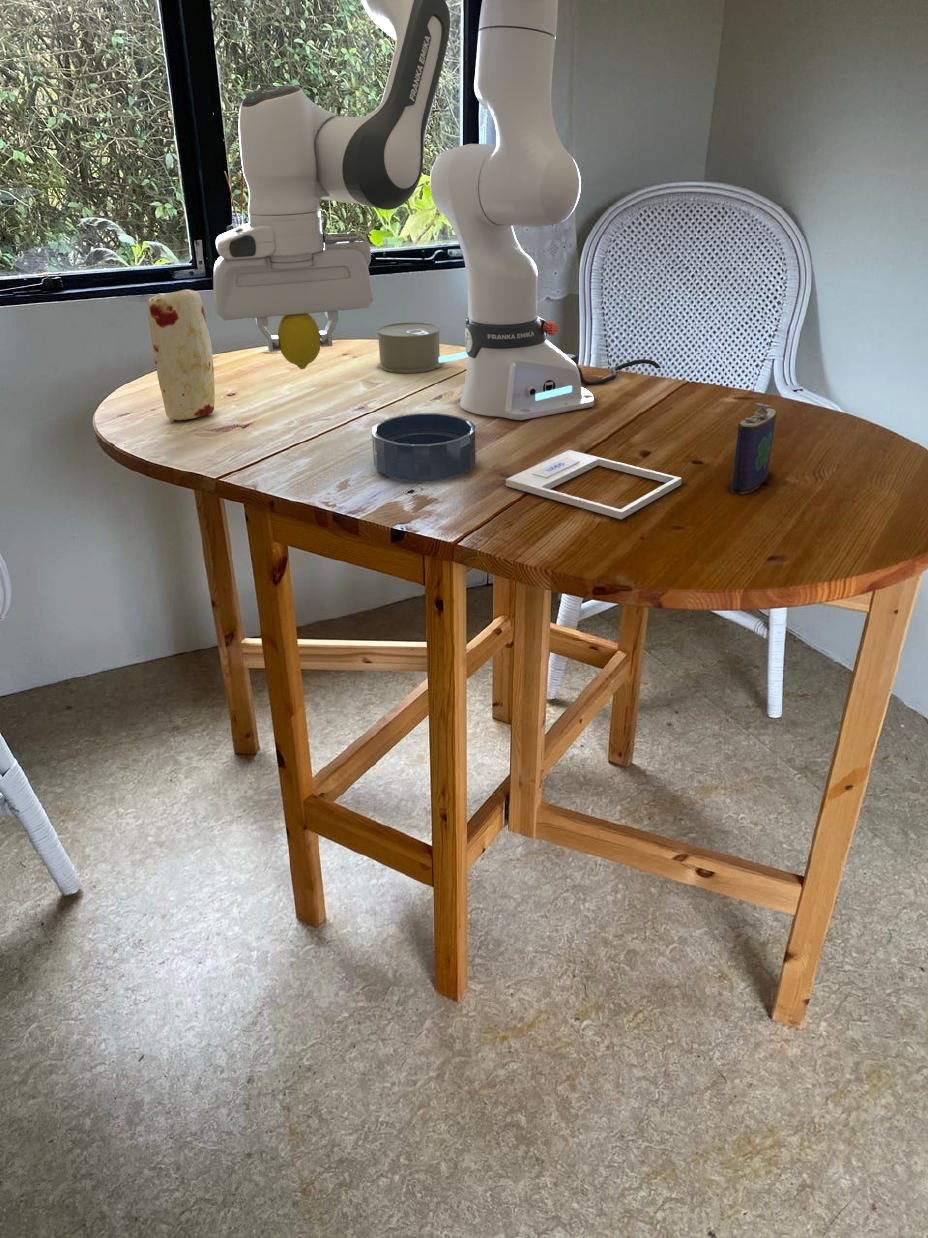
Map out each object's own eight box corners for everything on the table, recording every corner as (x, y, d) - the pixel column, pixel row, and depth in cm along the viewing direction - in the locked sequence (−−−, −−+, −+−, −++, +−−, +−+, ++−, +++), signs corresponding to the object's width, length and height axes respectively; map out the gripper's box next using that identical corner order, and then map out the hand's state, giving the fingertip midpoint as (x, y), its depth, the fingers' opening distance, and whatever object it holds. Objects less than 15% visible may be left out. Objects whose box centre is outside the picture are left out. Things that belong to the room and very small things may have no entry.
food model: (178, 427, 147) (155, 297, 137) (156, 419, 151) (132, 292, 141) (229, 413, 153) (211, 287, 143) (206, 406, 157) (187, 283, 147)
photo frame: (569, 448, 131) (681, 476, 121) (569, 455, 132) (681, 484, 121) (505, 477, 122) (621, 510, 111) (505, 485, 122) (621, 519, 112)
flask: (752, 470, 126) (764, 392, 120) (773, 474, 124) (786, 396, 119) (726, 491, 119) (737, 410, 114) (748, 496, 118) (760, 414, 113)
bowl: (458, 444, 137) (457, 408, 135) (489, 477, 125) (488, 438, 123) (365, 456, 134) (362, 419, 131) (387, 490, 122) (385, 450, 119)
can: (416, 354, 186) (414, 319, 182) (453, 365, 178) (452, 329, 174) (367, 365, 179) (364, 328, 176) (403, 376, 171) (401, 339, 168)
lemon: (315, 375, 120) (308, 312, 116) (275, 373, 121) (267, 311, 117) (329, 364, 125) (323, 303, 121) (290, 363, 126) (283, 302, 122)
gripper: (364, 227, 120) (372, 335, 127) (203, 238, 115) (221, 350, 122) (374, 233, 115) (381, 346, 122) (206, 245, 110) (224, 361, 117)
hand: (300, 348), depth 122 cm, fingers closed on lemon, 5 cm apart
